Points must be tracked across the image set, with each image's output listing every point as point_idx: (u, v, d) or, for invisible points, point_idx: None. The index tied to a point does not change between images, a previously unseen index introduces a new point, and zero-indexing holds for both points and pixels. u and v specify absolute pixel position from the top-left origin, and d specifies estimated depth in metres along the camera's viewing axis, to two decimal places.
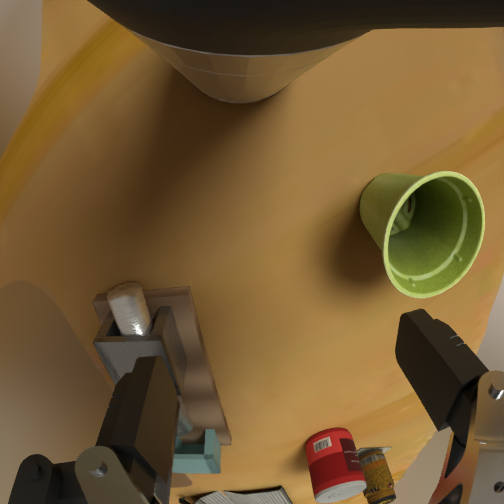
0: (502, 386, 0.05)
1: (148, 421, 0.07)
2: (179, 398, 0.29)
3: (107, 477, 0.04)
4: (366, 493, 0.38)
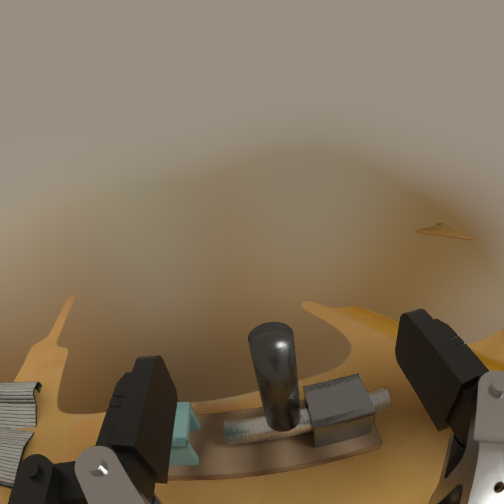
0: (502, 386, 0.05)
1: (148, 421, 0.07)
2: (278, 435, 0.30)
3: (107, 477, 0.04)
4: None
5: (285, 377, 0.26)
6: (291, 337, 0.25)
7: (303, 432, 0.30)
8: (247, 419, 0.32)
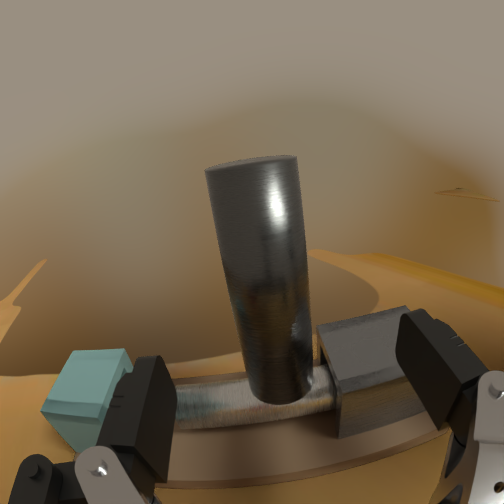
0: (502, 386, 0.05)
1: (148, 421, 0.07)
2: (272, 414, 0.17)
3: (107, 477, 0.04)
4: None
5: (282, 254, 0.12)
6: (293, 158, 0.12)
7: (318, 409, 0.17)
8: (216, 382, 0.18)
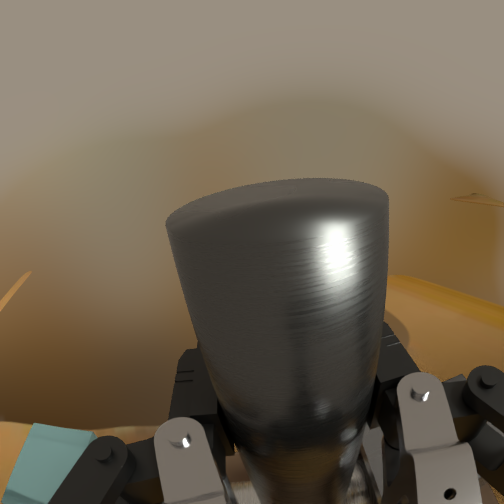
0: (425, 388, 0.05)
1: None
2: None
3: (195, 447, 0.05)
4: None
5: (343, 408, 0.05)
6: (382, 196, 0.05)
7: None
8: None
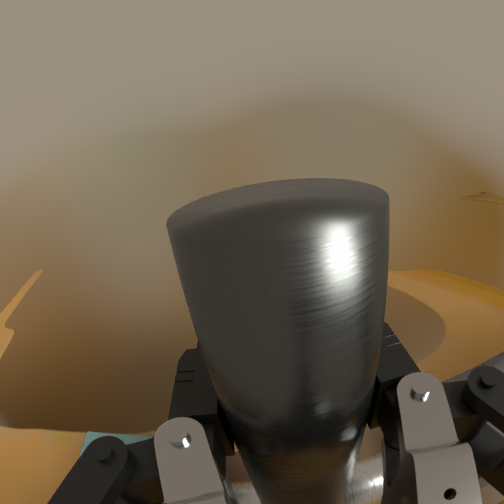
0: (425, 388, 0.05)
1: None
2: None
3: (195, 447, 0.05)
4: None
5: (344, 408, 0.05)
6: (383, 196, 0.05)
7: None
8: None
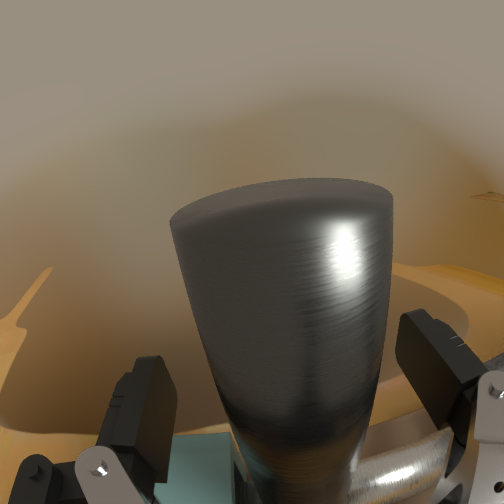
0: (502, 386, 0.05)
1: (148, 421, 0.07)
2: None
3: (107, 477, 0.04)
4: None
5: (347, 408, 0.05)
6: (386, 195, 0.05)
7: None
8: None
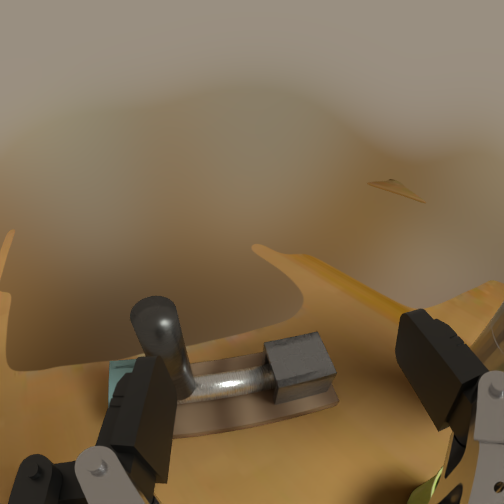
0: (502, 386, 0.05)
1: (148, 421, 0.07)
2: None
3: (107, 477, 0.04)
4: None
5: (170, 355, 0.25)
6: (173, 317, 0.23)
7: (199, 400, 0.32)
8: None
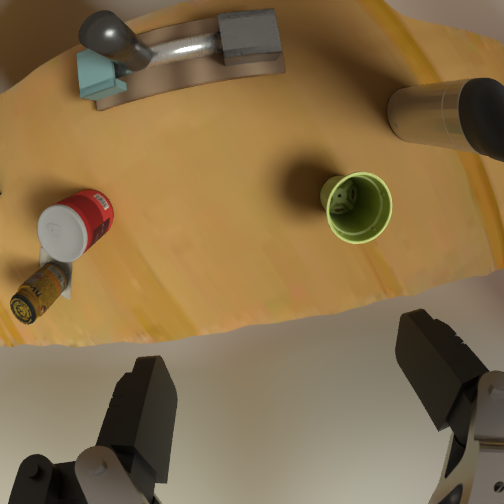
0: (502, 386, 0.05)
1: (148, 421, 0.07)
2: (135, 71, 0.32)
3: (107, 477, 0.04)
4: (27, 285, 0.37)
5: (118, 51, 0.22)
6: (115, 28, 0.19)
7: (156, 66, 0.33)
8: None
